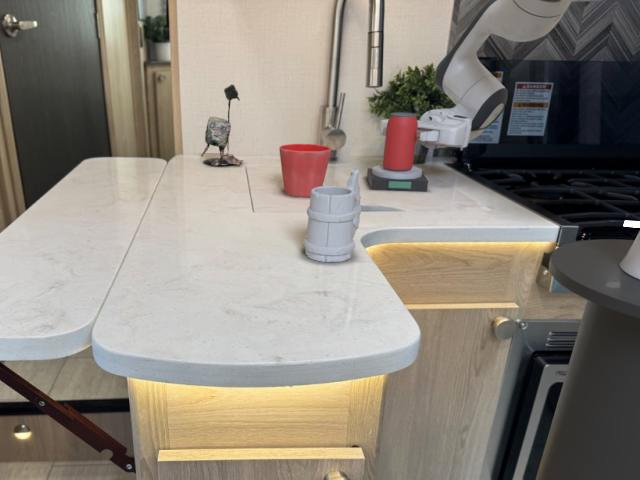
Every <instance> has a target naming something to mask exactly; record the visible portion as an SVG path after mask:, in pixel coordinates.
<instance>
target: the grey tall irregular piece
mask: <svg viewBox="0 0 640 480" xmlns="http://www.w3.org/2000/svg"><path fill="white" fill-rule="evenodd" d="M223 92H224V95H225V99H226V100H227V101H228V103H227V105H228V106H227V107H228V110H227V119H225V118H221V117H218V116H211V115H209V118H208V121H207V124H206V127H205V129H206V130H205V135H204V141H205V144H206V147H205V148H204V150H203V151H202V152H201V154H200V157H203V156H205V154H206V153H207V151H208V149H209V148H210V146H212V147H217V148H218V150H219V157H220V158H219V159H213V160H212V161H211V164H210V166H227V165H232V164H234V165H238V166H239V165H241V164H242V162H243V160H242V159H238V158H237V157H236V156H235V155H234V154H233V153H229V152H227V153H226V154H225V149H227V150H229V149H230V148H229V145H230V144H229V143H230V142H229V141H230V140H229V137H230V134H231V131H232V129H231V128H232V125H231V122H230V110H231V102H232V100H236V99H237V101H239V102H240V101H241V99H240V97H239V92H238V90H237V88H236V85H234V84H230V85H228V86H226V87H225V88H224V89H223Z"/></svg>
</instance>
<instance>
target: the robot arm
mask: <svg viewBox="0 0 640 480" xmlns="http://www.w3.org/2000/svg"><path fill="white" fill-rule="evenodd" d="M602 1H604V0H489V1H488V2H487V3H486V4H485V5H483V7H482V8H481V9H480V10H479V11H478V13H477V14H476V15H475V16H474V18H473V19H472V21H471V22H470V23H469V25H468V26H467V27H466V29H465V30H464V32H463V33H462V35H461V36H460V37H459V39H458V40H457V42H456V43H455V44H454V45H453V47H452V48H451V49H450V51H448V53H447V54H446V55H445V56H444V57H443V59H442V60H441V61H440V62H439V63H438V65H437V66H436V67H435V72H434V85H435V86H436V88H438V89H439V90H440V91H441V92H442V93H444V94H445V95H446V96H447V97H448V98H449V99H450V100H451V101H452V103H454V104H455V106H454V107H451V108H438V109H431V110H427V111H426V112H425V113H423V114H422V115H421V116H420V117H419V119H417V121H418V128H417V135H416V142H419V143H420V144H421V145H422V146H423V147H425V148H427V149H430V150H434V149H444V148H455V149H457V148H458V149H459V148H460V149H464V148H467V147H468V146H469V142H471V141H473V140H475V139H476V138H478V137H479V136H480V135H482V133H483V132H484V131H485V129H487V128H488V127H490V126H491V125H492V124H493V123H495V122H496V121H497V119H498V118H499V117H500V116H501V115H502V113H503V112H504V110H505V108H506V106H507V101H508V94H509V93H508V89H507V88H506V87H505V85H503V83H501V82H500V81H499V79H498V78H497V77H496V76H494V75H493V74H492V73H491V72H490V71H489V70H488V69H487V68H486V66H485V65H483V63H482V62H481V61H480V59H479V58H478V53H477V52H478V51H479V49H480V48H481V47H482V46H483V44H484V43H485V42H486V41H487V40H488V38H489V37H490V35H491V34H492V35H495V36H498V37H500V38H503V39H505V40H506V41H507V40H508V41H511V42H518V43H526V42H532V41H536V40H539V39H541V38H543V37H545V36H546V35H548V34H549V33H550V32H551V31H552V30H553V29H554V28H555V27H556V26H557V25H558V23H559V22H560V21H561V19H562V18H563V16H564V14H565V13H566V12H567V11H568V9H569V7H570V5H571V4H572V3H574V2H575V3H582V2H583V3H584V2H588V3H593V2H594V3H595V2H602ZM388 120H389V118H386V119H381V120H380V123H379V135H380V136H383V137H386V130H387V123H388ZM623 227H629V228H640V221H637V220H636V221H635V220H624V223H623ZM634 240H635V241H634V243H633V244H632V246H631V248H630V249H629V251H628V253H627V254H626V255H625V257H624V258H623V260H622V261H621V262H620V267H621V269H622V270H623V271H625V272H626V273H628V274H629V275H631V276H633V277H635V278H637V279H640V230H639V231H638V233H637V235H636V238H635V239H634Z"/></svg>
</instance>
